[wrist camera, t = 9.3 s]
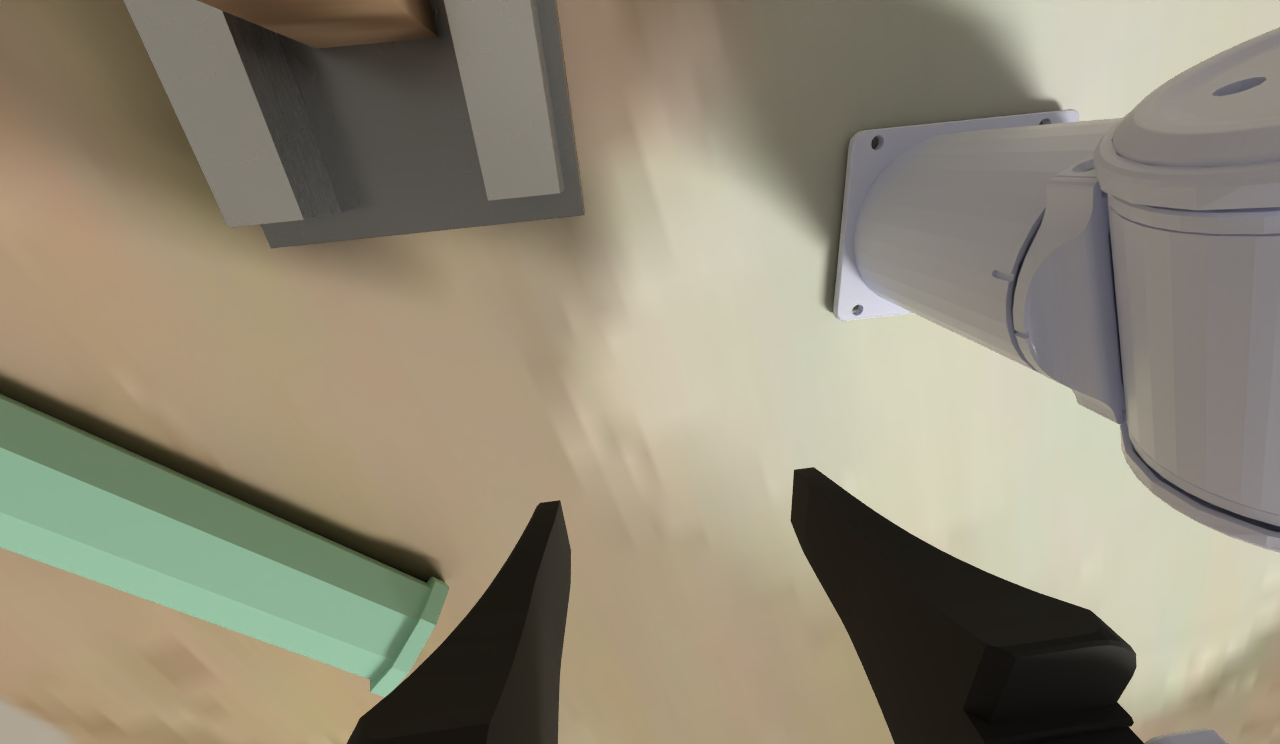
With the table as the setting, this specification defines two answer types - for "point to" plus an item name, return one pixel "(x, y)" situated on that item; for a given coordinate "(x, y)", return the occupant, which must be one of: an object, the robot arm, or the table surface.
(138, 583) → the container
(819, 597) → the table surface
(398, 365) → the table surface
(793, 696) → the table surface
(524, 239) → the table surface
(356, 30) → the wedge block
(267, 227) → the slot base
